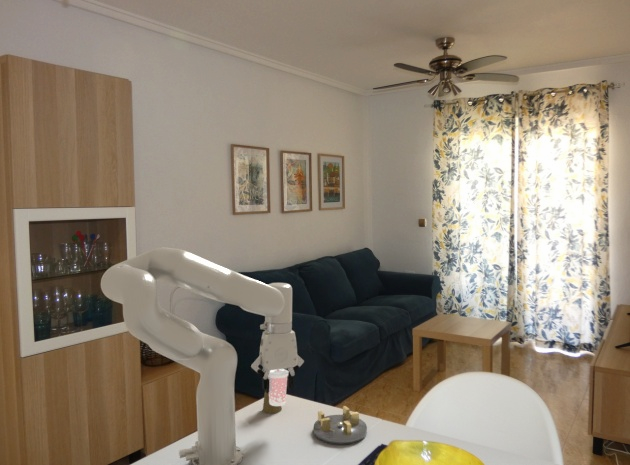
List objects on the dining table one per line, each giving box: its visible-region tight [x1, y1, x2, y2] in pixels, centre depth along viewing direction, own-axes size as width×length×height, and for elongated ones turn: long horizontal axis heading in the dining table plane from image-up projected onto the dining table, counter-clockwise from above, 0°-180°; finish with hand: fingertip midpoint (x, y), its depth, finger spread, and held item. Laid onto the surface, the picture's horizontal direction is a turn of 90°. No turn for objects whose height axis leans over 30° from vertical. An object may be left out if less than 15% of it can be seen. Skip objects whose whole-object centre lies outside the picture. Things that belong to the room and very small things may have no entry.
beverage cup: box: [268, 368, 289, 407], centre depth 144 cm, size 6×6×14 cm
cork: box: [262, 391, 283, 415], centre depth 159 cm, size 6×6×11 cm
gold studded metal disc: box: [313, 405, 368, 446], centre depth 144 cm, size 15×15×5 cm
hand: (277, 389), depth 144 cm, fingers closed on beverage cup, 6 cm apart
